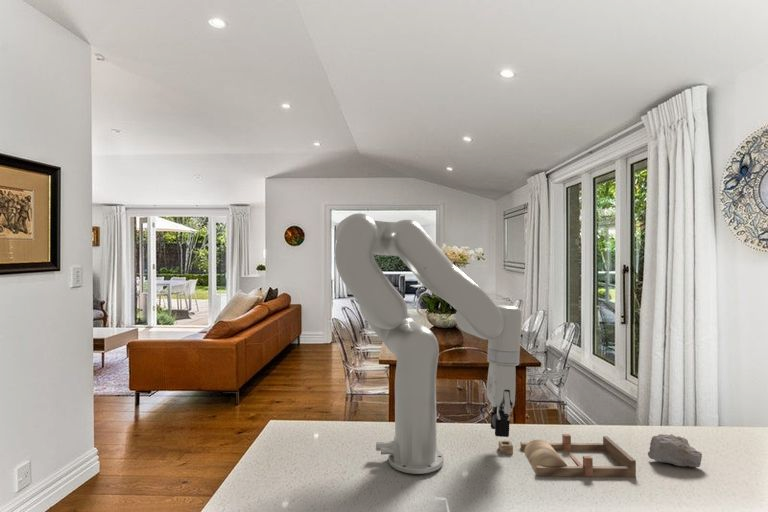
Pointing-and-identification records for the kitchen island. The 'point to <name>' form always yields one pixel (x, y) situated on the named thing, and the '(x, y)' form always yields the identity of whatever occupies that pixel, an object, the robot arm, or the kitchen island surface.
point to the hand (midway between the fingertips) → (499, 431)
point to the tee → (505, 447)
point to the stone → (674, 451)
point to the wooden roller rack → (553, 465)
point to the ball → (494, 419)
